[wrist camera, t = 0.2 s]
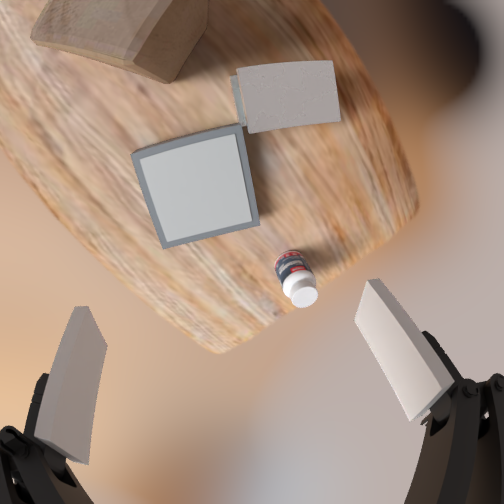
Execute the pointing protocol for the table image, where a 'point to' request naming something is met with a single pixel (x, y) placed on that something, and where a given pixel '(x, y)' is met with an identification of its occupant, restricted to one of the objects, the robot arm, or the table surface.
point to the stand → (197, 185)
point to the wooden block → (125, 32)
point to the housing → (285, 95)
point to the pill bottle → (296, 278)
